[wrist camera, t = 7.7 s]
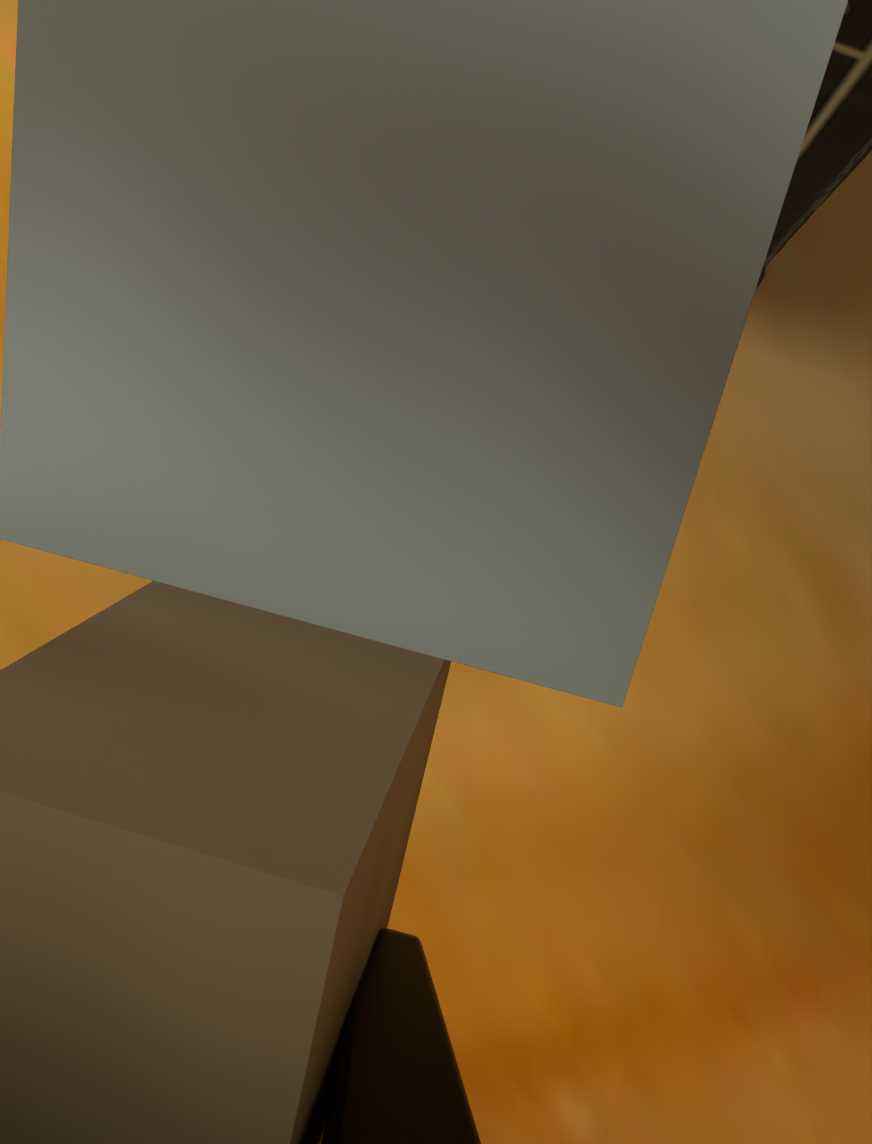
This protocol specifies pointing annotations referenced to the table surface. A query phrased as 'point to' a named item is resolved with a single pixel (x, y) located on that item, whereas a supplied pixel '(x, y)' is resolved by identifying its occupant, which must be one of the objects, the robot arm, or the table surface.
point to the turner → (332, 474)
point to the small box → (832, 126)
